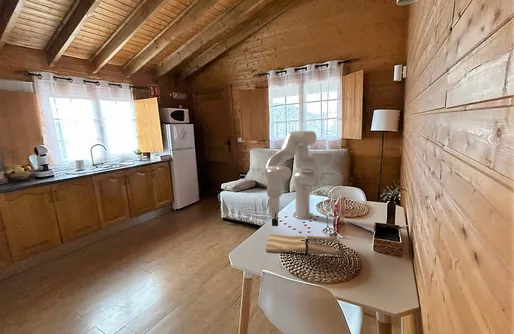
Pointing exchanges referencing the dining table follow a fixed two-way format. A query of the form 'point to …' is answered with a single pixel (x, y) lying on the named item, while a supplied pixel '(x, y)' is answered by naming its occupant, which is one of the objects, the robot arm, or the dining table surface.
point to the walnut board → (322, 246)
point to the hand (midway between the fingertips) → (275, 225)
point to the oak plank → (286, 243)
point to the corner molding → (366, 225)
